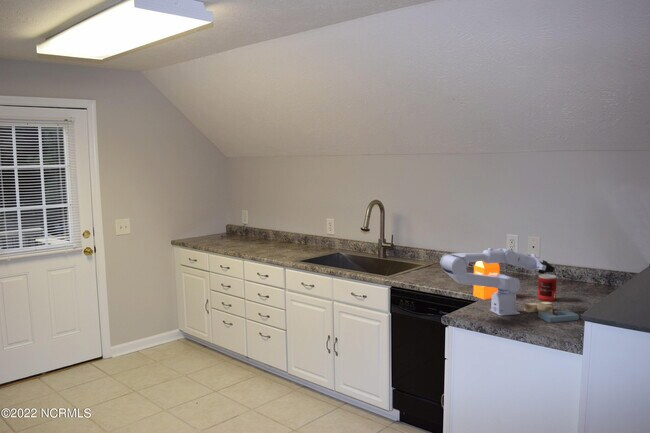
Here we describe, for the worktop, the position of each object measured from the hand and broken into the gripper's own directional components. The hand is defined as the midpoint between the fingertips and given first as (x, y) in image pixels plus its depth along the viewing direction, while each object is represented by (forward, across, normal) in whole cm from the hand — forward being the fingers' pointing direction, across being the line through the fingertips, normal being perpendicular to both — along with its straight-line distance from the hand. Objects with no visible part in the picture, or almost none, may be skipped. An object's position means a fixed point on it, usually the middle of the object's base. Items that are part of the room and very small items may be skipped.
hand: (547, 267), depth 229 cm
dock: (-1, -15, +18) cm, 23 cm away
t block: (0, -6, +18) cm, 19 cm away
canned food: (+15, +10, +15) cm, 24 cm away
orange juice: (-7, +24, +23) cm, 34 cm away
